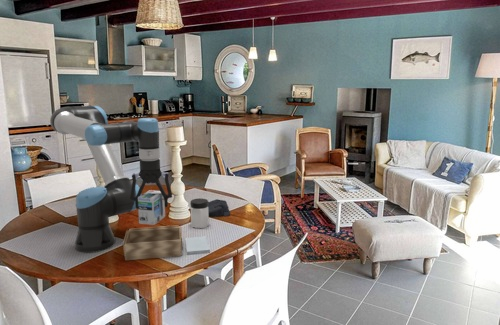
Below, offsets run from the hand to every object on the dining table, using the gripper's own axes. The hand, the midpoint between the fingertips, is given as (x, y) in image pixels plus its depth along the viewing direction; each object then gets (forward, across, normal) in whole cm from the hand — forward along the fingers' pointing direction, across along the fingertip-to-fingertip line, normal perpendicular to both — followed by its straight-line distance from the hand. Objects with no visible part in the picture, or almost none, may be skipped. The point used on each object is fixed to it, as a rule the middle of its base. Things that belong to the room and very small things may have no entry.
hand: (152, 215), depth 152 cm
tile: (+14, +17, 0) cm, 22 cm away
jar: (+15, +20, +24) cm, 34 cm away
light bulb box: (+2, 0, 0) cm, 2 cm away
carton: (+14, 0, 0) cm, 14 cm away
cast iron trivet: (+15, +30, +44) cm, 56 cm away
